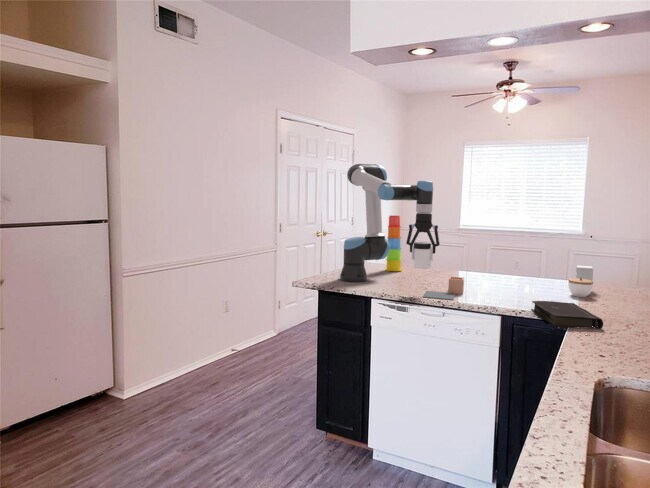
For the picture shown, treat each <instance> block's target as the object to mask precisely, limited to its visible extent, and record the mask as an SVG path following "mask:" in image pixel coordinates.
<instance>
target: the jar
mask: <svg viewBox="0 0 650 488" xmlns="http://www.w3.org/2000/svg"><path fill="white" fill-rule="evenodd" d="M413 246H414V258H413V259H412V267H413V268H414V269H421V270H426V269H431V267H432V265H431V263H432V261H431V247H432V243H431V242H427V241H426V242H424V241H422V242H420V241H418V242H416V241H415V242H414V244H413Z"/></svg>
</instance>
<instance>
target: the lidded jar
mask: <svg viewBox="0 0 650 488" xmlns="http://www.w3.org/2000/svg"><path fill="white" fill-rule="evenodd" d="M593 285H594V281H593V280H592V281H591V280H587V279H582V277H580V279H579V278H576V277H574V278H573V277H572V278H568V290H569V292H570V293H571V294H572V296H573V297H576V298H577V297H578V298H586V297H587V296H589V295H590V294H591V293H592V291H591V290H593Z"/></svg>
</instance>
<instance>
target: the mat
mask: <svg viewBox="0 0 650 488" xmlns="http://www.w3.org/2000/svg"><path fill="white" fill-rule="evenodd" d="M455 296H456V293H448V291H447V292H445V291H435V290H434V291H433V290H425V292H424V294H423V295H422V298H426V299H427V298H428V299H437V300H438V299H439V300H450V301H454V298H455Z"/></svg>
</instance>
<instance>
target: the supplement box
mask: <svg viewBox="0 0 650 488" xmlns="http://www.w3.org/2000/svg"><path fill="white" fill-rule="evenodd" d="M575 269H576V270H575V278H579V279H580V277H582V279H587V280H591V281H593V280H594V277H593V276H594V268H593V266H592V265H589V266H588V265H576V268H575ZM592 290H593V289H592ZM592 290H591V292H592Z"/></svg>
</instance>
